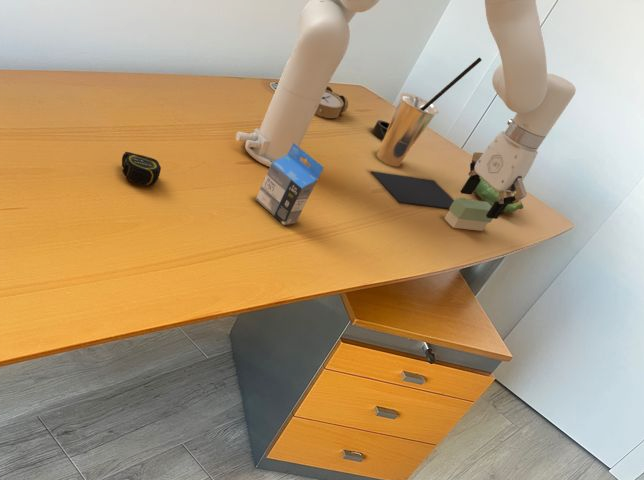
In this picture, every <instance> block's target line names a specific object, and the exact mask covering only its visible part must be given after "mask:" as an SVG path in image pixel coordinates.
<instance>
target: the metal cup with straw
mask: <svg viewBox="0 0 644 480" xmlns="http://www.w3.org/2000/svg"><path fill="white" fill-rule="evenodd" d="M482 61H483V60H482V58H481V57H478V58H477V59H475V61H473V62H472V63H471V64H470V65H468V67H467V68H464V70H463V71H461V72H460V73H459V74H458V75H457V76H456V77H455V78H454V79H453V80H452V81H450V82H449V83H448V84H447V85H446V86H444V88H442V89H441V90H440V91H439V92H438V93H437V94H435V96H433V97H432V98H431V99H430V100H429V101H428V100H426V99H424V98H422V97H420V96H417V95H414V94H412V93H408V92H407V93H406V92H401V93H400V94H399V101H398V103H397V106H396V108H395V110H394V113H393V115H392V117H391V119H390V122H389V123H390V124H389V127H388V129H387V132H386V134H385V137H384V139H383V140H382V142H381V144H380V145H379V149H378V151H377V153H376V158H377V159H378V160H379V161H381V162H382V163H384V164H386V165H388V166H391V167H396V168H397V167H400V166H401V164H402V162H403V161H404V160H405V158H406V157H407V155H408V154H409V152H410V151H411V149H412V148H413V147H414V146H415V144H416V143H417V141H418V140H419V138H420V137H421V136H422V134H423V133H424V131H425V130H426V128H427V127H428V126H429V124H430V123H431V121H432V120H433V119H434V117H436V115H439V113H440V111H439V109H438V108H437V107H436V105H434V103H435V102H436V101H437V100H438V99H439V98H440V97H442V96H443V95H444V94H445V93H446V92H447V91H448V90H450V89H451V88H452V87H453V86H455V85H456V84H457V83H458V82H459V81H461V79H462V78H464V77H465V76H466V75H467V74H468V73H469V72H470V71H471V70H472V69H474V68H475V67H476V66H478V65H479V64H480V63H481V62H482Z"/></svg>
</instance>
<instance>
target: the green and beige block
mask: <svg viewBox="0 0 644 480" xmlns="http://www.w3.org/2000/svg"><path fill="white" fill-rule="evenodd" d="M453 200H454V202H453V203H452V205H451V206H450V208H449V209H448V212H447V213H446V215H445V216H444V220H445V221H446V222H447V223H448V225H450V226H451V227H452V228H453V229H461V230H472V231H478V232H483V231H484V230H485V228H486V227H487V225H488V224H489V223H492V221H493V219H492V218H487V217H486V214H487V213H488V211H489V210H490V208H491V207H492V206H491V205H490V204H489V203H488V202H484V201H483V200H476V199H469V198H461V197H455V199H453Z"/></svg>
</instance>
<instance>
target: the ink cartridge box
mask: <svg viewBox="0 0 644 480" xmlns="http://www.w3.org/2000/svg"><path fill="white" fill-rule="evenodd" d="M301 158H302V159H303V160H306V162H307V163H308V164H309V166H308V165H307V164H306V163H305V162H303V161H302V160H301ZM324 169H325V167H324V166H323V165H322V164H321V163H319V162H318V161H317V160H316V159H314V158H313V157H312V156H311V155H310V154H308V153H307V152H306V151H304V149H302V148H301V147H298V146H297V145H296V144H295V143H293V145H292V147H291V149H290V151H289V153H288V154H287V155H285V156H284V157H282V158H280V159H278V160H276V161H274V162H273V163H271V166H270V167H268V170H267V172H266V175H265V178H264V179H263V182H262V184H261V186H260V188H259V191H258V193H257V195H256V198H255V201H256V202H258V204H260V206H262V207H263V208H264V209H265V210H266V211H267V212H269V213H270V214H271V215H272V216H273V217H274V218H275V219H277V220H278V221H279V222H280V223H281V224H282V225H283V226H289V225H295V224H296V223H297V221H298V220H299V218H300V216H301V213H302V212H303V210H304V208H305V206H306V204H307V202H308V200H309V198H310V197H311V194H312V192H313V190H314V188H315V186H316V184H317V182H318V180H319V178H320V176H321V175H322V172H323V170H324Z"/></svg>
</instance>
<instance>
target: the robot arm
mask: <svg viewBox="0 0 644 480" xmlns="http://www.w3.org/2000/svg"><path fill="white" fill-rule="evenodd" d="M379 1H380V0H308V1H307V2H306V4H305V6H304V8H302V11H301V13H300V16H299V19H298V37H297V41H296V43H295V45H294V47H293V49H292V52H291V54H290V56H289V58H288V60H287V62H286V64H285V66H284V69H283V70H282V74H281V76H280V79H279V80H278V81H279V82H278V84H277V86H276V89H275V91H274V94H273V95H272V99H271V101H270V103H269V105H268V108H267V110H266V113H265V115H264V117H263V119H262V122H261V124H260V127H259V128H254V130H253V132H249V133H247V132H244V131H237V132H236V134H235V140H236V142H240V143H241V142H242V143H245V146H244V148H245V150H246V152H247V154H248V155H249V156H250V157H251V158H253V159H254V160H255V161H257V162H259V163H260V164H262V165H264V166H266V167H268V168H270V166H271V163H273V162H274V161H276V160H278V159H280V158H282V157H284V156H285V155H287V154H288V153H289V151H290V149H291V147H292V145H293V143H295V144H296V145H297V146H298V147H299V148H301V145H302V142H303V140H304V138H305V136H306V134H307V132H308V129H309V128H310V126H311V123H312V121H313V119H314V117H315V112H316V110H317V108H318V106H319V104H320V101H321V99H322V97H323V95H324V92H325V90H326V88H327V86H329V84H330V81H331V80H332V79H333V76H334V75H335V72H336V71H337V69H338V68H339V65H340V64H341V63H342V61H343V59H344V57H345V55H346V53H347V50H348V47H349V44H350V36H351V35H350V33H351V32H350V31H351V30H350V25H349V23H350V22H351V21H352V19H353V18H354V17H355V15H356V14H357V13H364V12H367V11H369V10H371V9H372V8H373V7H375V6H376V5H377V4H378V3H379ZM484 8H485V17H486V21H487V24H488V28H489V30H490V33H491V35H492V37H493V39H494V41H495V44H496V46H497V48H498V52H499V56H500V60H501V63H500V64H499V65H498V66H497V67H496V69H495V70H494V72H493V74H492V78H491V79H492V80H491V81H492V82H491V83H492V88H493V89H494V91H495V93H496V94H497V96H498V97H499V98H500V99H501V100H502V102H503V104H504V105H505V106H506V107H507V109H509V110H510V111H511V112H514V113H515V115H514V117H513V118H510V119H508V120H507V123H506V124H507V125H508V126H507V128H506V129H505V130H501V131H500V133H499V134H497V135H496V136H495V137H494V138H493V140H492V141H491V142H490V143H489V144H488V146H487V147H486V149H485V150H484V151H483V152H477V151H476V152H473V154H472V158H471V162H470V164H469V167H470V168H469V172H468V178H467V180H466V181H465V183H464V185H463V186H462V188H461V189H460V191H459V192H460V193H461V194H462V195H468V196H469V195H471V196H472V194H473V193H475V191H474V190H475V189H476V187H477V186H478V184H479V182H480V180H481V179H480V177H481V178H482V179H483V180H484V181H485V182H487V183H488V184H489V185H490V186H491V187H492V188H493V189H495V190H496V191H499V201H495V203H494V204H493V206H492V207H491V208H490V210H489V211H488V213H487V214H486V217H487V218H492V220H493V219H494V220H495V219H496V220H497V219H499V217H500V216H501V215H502V213H504V212H503V210H504V209H505V208H506V206H507V205H511V204H513V203H517V202H518V201H519V200H521V201H522V199H524V198H525V197H527V195H528V194H527V191H526V188H525V185H524V182H523V181H524V180H525V178H526V177H527V175H528V173H529V172H530V170H531V168H532V166H533V164H534V162H535V160H536V157H537V156H538V152H539V151H538V149H539V147H540V146H541V145H542V143H543V141H544V140H545V139H546V137H547V136H548V134H549V133H550V132H551V130H552V129H553V127H554V126H555V125H556V123H557V121H558V120H559V118H560V117H561V116H562V114H563V113H564V111H565V109H566V108H567V107H568V106H569V104H570V102H571V101H572V99H573V98H574V96H575V94H576V86H575V85H574V84H573V83H572V82H571V81H569V80H568V79H565V78H564V77H562V76H559V75H556V74H554V73H548V67H547V55H546V48H545V43H544V38H543V32H542V28H541V22H540V17H539V13H538V6H537V0H484ZM515 191H516V194H515V195H514V196H512V195H513V192H515ZM505 193H506V198H505Z"/></svg>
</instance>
